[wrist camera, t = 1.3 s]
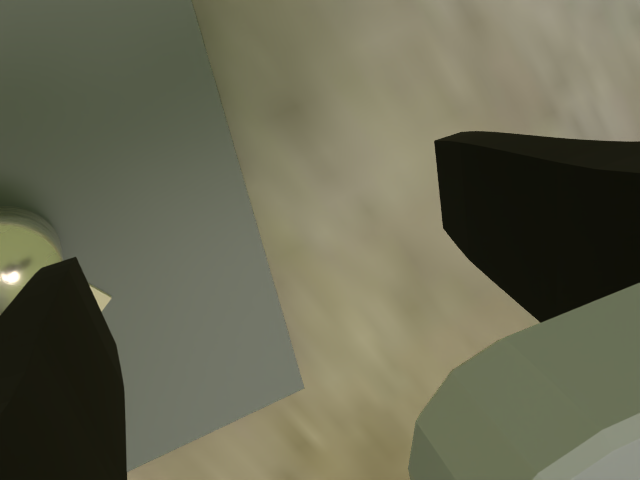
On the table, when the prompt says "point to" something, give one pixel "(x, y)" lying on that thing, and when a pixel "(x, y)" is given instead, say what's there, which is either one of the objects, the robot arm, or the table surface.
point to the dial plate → (145, 207)
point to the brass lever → (24, 250)
